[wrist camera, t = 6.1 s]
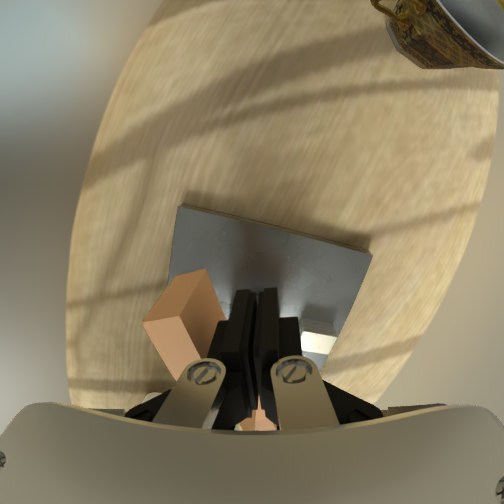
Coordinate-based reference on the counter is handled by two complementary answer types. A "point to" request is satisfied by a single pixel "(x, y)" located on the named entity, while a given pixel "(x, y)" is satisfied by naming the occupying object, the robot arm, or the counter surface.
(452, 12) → the ceramic cup
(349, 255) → the grey plate with posts
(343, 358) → the counter surface
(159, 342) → the orange lever handle
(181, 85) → the counter surface
